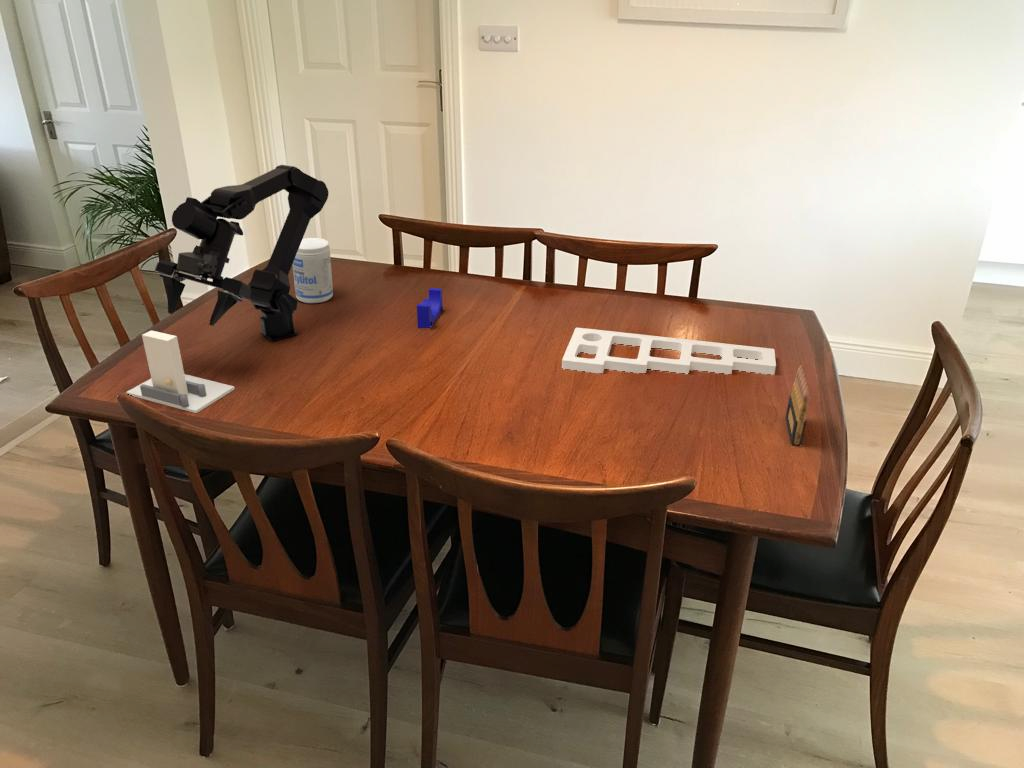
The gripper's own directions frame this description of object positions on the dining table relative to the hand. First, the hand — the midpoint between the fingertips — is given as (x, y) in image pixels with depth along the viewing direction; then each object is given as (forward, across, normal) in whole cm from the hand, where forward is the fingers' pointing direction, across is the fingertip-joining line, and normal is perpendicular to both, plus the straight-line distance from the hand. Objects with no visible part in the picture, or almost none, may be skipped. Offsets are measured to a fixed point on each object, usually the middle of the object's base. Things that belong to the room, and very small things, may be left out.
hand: (190, 319), depth 166 cm
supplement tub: (-17, +6, +45) cm, 49 cm away
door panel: (+16, +2, -1) cm, 16 cm away
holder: (-21, +96, +24) cm, 102 cm away
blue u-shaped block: (-18, +38, +38) cm, 57 cm away
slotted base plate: (+15, +2, +1) cm, 15 cm away
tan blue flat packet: (-11, +121, +3) cm, 122 cm away
